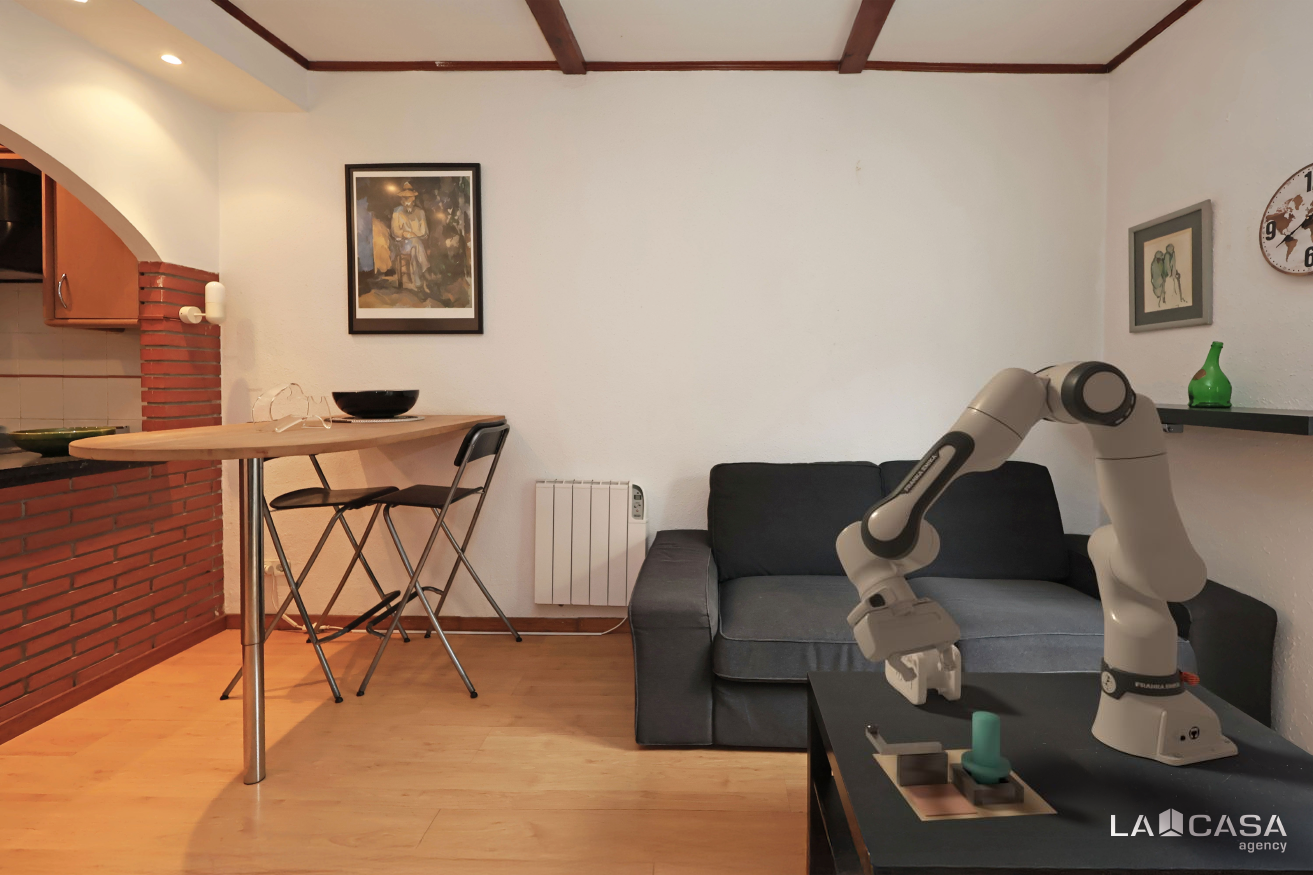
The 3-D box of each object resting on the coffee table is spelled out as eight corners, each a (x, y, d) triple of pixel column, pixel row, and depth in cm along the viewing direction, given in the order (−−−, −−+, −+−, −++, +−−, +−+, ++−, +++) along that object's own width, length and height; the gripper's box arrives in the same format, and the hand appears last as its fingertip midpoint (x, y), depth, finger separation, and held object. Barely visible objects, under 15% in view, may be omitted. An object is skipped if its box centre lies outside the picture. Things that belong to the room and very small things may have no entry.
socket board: (987, 753, 130) (988, 720, 129) (1057, 819, 110) (1058, 780, 110) (872, 759, 128) (872, 726, 128) (921, 826, 108) (922, 787, 108)
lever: (922, 732, 125) (923, 719, 125) (941, 752, 118) (941, 739, 118) (864, 734, 124) (864, 722, 124) (880, 755, 117) (880, 742, 117)
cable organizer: (964, 707, 149) (964, 651, 148) (915, 711, 148) (915, 654, 147) (926, 678, 164) (927, 627, 163) (882, 681, 162) (882, 630, 162)
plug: (994, 776, 120) (996, 705, 119) (1019, 801, 113) (1021, 726, 112) (952, 779, 120) (953, 707, 119) (974, 803, 112) (975, 728, 112)
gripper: (923, 605, 139) (964, 672, 131) (839, 620, 130) (877, 693, 122) (942, 587, 135) (986, 656, 127) (856, 601, 126) (897, 676, 118)
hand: (932, 674), depth 124 cm, fingers open, 8 cm apart
